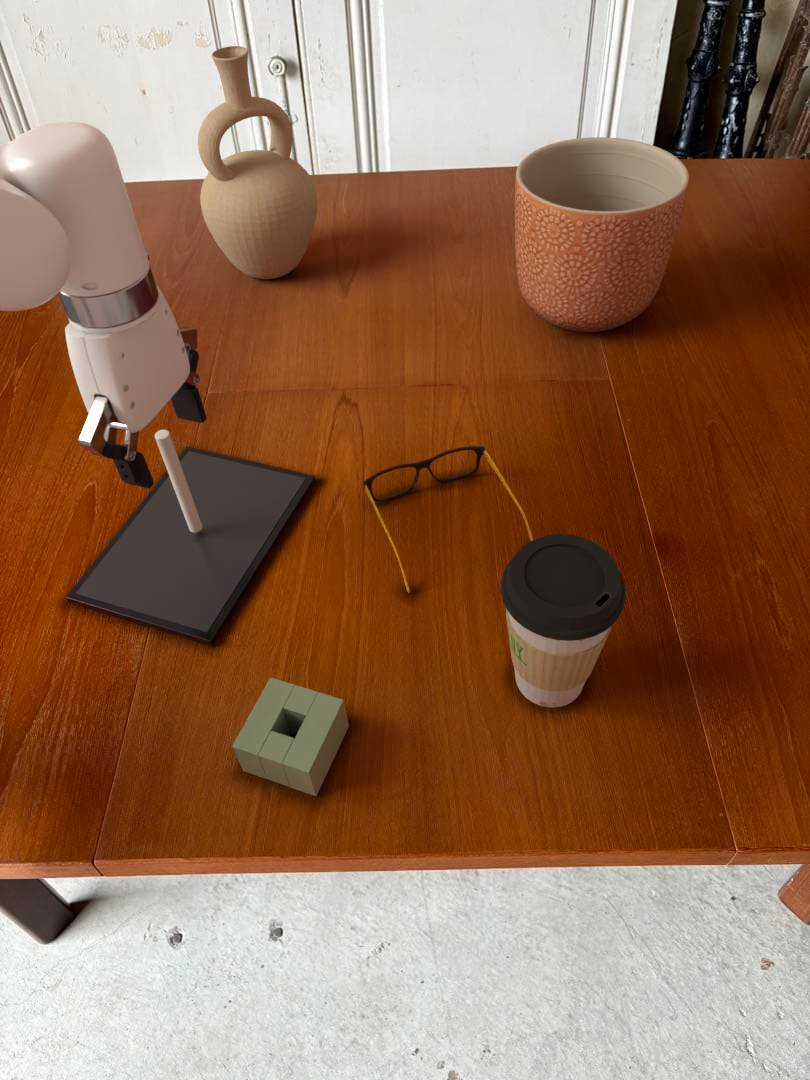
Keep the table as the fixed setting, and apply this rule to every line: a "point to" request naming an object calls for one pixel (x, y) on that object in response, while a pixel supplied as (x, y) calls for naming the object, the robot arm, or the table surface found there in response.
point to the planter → (595, 229)
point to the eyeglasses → (426, 464)
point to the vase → (254, 181)
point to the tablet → (194, 546)
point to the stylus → (178, 480)
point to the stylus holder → (282, 756)
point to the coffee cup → (559, 614)
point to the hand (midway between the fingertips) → (166, 450)
